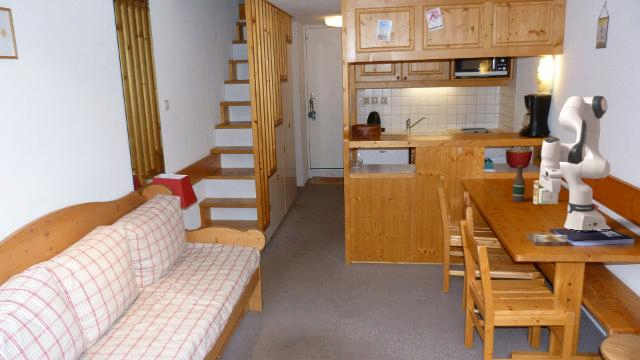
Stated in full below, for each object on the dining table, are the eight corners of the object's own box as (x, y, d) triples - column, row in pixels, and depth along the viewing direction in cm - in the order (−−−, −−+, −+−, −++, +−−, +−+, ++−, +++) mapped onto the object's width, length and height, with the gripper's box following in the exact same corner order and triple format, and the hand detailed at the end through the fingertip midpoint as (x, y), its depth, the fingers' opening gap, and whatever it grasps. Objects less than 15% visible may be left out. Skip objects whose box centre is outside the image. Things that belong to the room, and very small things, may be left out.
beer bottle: (521, 199, 348) (523, 164, 343) (526, 202, 340) (528, 166, 335) (510, 199, 347) (511, 164, 342) (514, 202, 340) (516, 166, 335)
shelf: (556, 236, 271) (556, 227, 270) (566, 245, 257) (567, 236, 256) (526, 236, 272) (526, 227, 271) (535, 245, 258) (535, 236, 257)
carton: (538, 202, 263) (539, 188, 261) (554, 201, 262) (555, 188, 261) (541, 204, 259) (542, 190, 257) (557, 203, 258) (558, 190, 257)
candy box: (537, 204, 332) (538, 181, 329) (532, 203, 336) (533, 180, 333) (548, 203, 335) (549, 180, 332) (544, 202, 339) (545, 179, 336)
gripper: (536, 167, 267) (535, 193, 270) (550, 174, 247) (548, 202, 250) (549, 166, 267) (547, 193, 270) (564, 174, 247) (562, 202, 250)
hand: (548, 197), depth 260 cm, fingers closed on carton, 4 cm apart
